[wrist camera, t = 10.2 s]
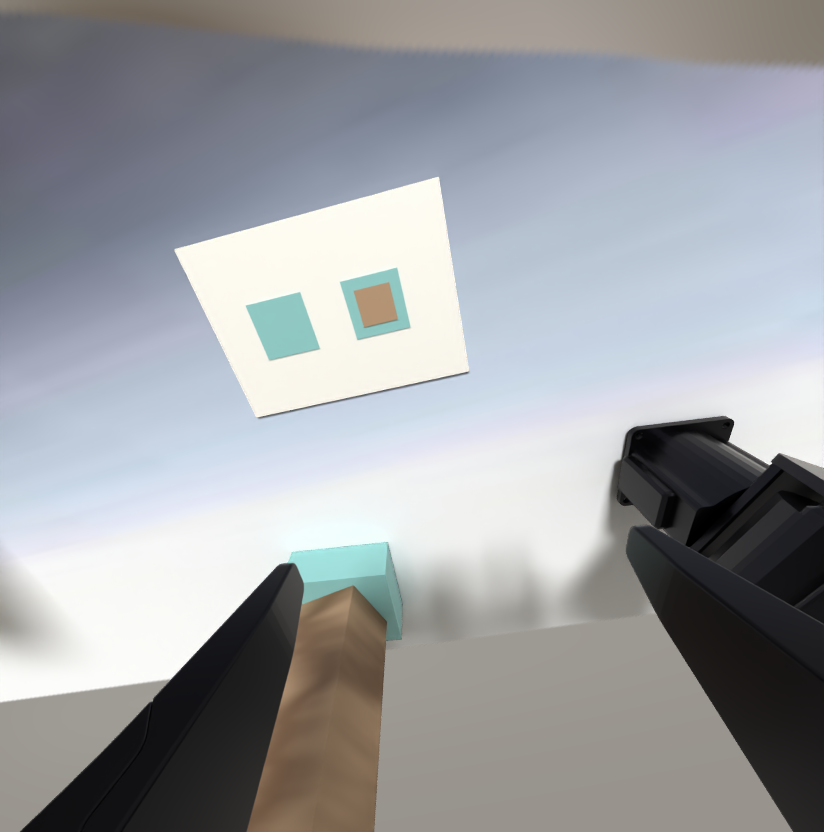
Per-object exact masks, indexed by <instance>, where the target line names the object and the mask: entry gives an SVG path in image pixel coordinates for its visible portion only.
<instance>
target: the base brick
mask: <svg viewBox="0 0 824 832" xmlns="http://www.w3.org/2000/svg"><path fill="white" fill-rule="evenodd" d="M288 563H295V564H296V565H297V568H298V570H299V572H300V575H301V577H302V579H303V582H304V594H303V600H302V604H305V603H307V602H310V601H312V600H315V599H318V598H320V597H323V596H326V595H328V594H331V593H334V592H336V591H339V590H342V589H344V588H347V587H350V586H352V585H354V586H355V587H356V588H357V589H358V590H359V592H360V593H361V594H362V595H363V596H364V597H365V598H366V599H367V600H368V601H369V602H370V604H371V605H372V606H373V607H374V608H375V609H376V610H377V611H378V612H379V613H380V614H381V616H382V617H383V618H384V619H385V620H386V621H387V631H386V641H388V640H399V639H402V601H401V597H400V593H399V588H398V584H397V580H396V576H395V571H394V567H393V563H392V559H391V554H390V550H389V546H388V542H384V543H375V544H365V545H356V546H347V547H337V548H328V549H318V550H309V551H300V552H292V554H291V556H290V559H289V561H288Z"/></svg>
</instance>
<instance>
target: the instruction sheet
mask: <svg viewBox="0 0 824 832" xmlns="http://www.w3.org/2000/svg"><path fill="white" fill-rule="evenodd" d="M174 250H175V252H176V254H177V256H178V258H179V260H180V263H181V265H182V267H183V269H184V271H185V273H186V275H187V277H188V279H189V281H190V283H191V285H192V287H193V289H194V291H195V293H196V295H197V297H198V299H199V301H200V303H201V305H202V307H203V309H204V311H205V314H206V316H207V318H208V320H209V322H210V324H211V326H212V328H213V330H214V332H215V334H216V336H217V338H218V340H219V342H220V344H221V346H222V348H223V350H224V352H225V354H226V356H227V358H228V360H229V363H230V365H231V367H232V369H233V371H234V373H235V375H236V377H237V379H238V381H239V383H240V385H241V387H242V389H243V391H244V393H245V395H246V397H247V399H248V401H249V403H250V405H251V407H252V409H253V411H254V414H255V416H256V418H257V417H261V416H266V415H270V414H275V413H280V412H284V411H289V410H293V409H298V408H303V407H307V406H312V405H316V404H321V403H326V402H330V401H335V400H339V399H344V398H349V397H353V396H358V395H362V394H367V393H372V392H376V391H381V390H385V389H390V388H395V387H399V386H404V385H408V384H413V383H418V382H422V381H427V380H431V379H436V378H441V377H445V376H450V375H454V374H459V373H464V372H468V371H469V367H468V361H467V354H466V348H465V342H464V335H463V329H462V322H461V316H460V310H459V303H458V297H457V291H456V284H455V278H454V271H453V265H452V259H451V252H450V246H449V240H448V233H447V227H446V220H445V214H444V208H443V201H442V195H441V189H440V182H439V177H436V178H433V179H429V180H425V181H422V182H418V183H414V184H411V185H407V186H404V187H400V188H396V189H393V190H389V191H385V192H382V193H378V194H374V195H371V196H367V197H363V198H360V199H356V200H353V201H349V202H345V203H342V204H338V205H334V206H331V207H327V208H323V209H320V210H316V211H313V212H309V213H305V214H302V215H298V216H294V217H291V218H287V219H283V220H280V221H276V222H272V223H269V224H265V225H262V226H258V227H254V228H251V229H247V230H243V231H240V232H236V233H232V234H229V235H225V236H222V237H218V238H214V239H211V240H207V241H203V242H200V243H196V244H192V245H189V246H185V247H182V248H178V249H174Z"/></svg>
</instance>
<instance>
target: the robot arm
mask: <svg viewBox="0 0 824 832" xmlns="http://www.w3.org/2000/svg"><path fill="white" fill-rule="evenodd" d="M733 426H734V421H733V420H732V419H730V418H728V417H726V416H720V417H712V418H704V419H695V420H687V421H679V422H670V423H662V424H654V425H646V426H637V427H634V428H632V429H631V430H630V431H629V433H628V436H627V442H626V448H625V453H624V458H623V460H622V465H621V471H620V477H619V482H618V493H617V500H618V502H619V503H620V504H621V505H623V506H628V505H635V507H636V508H637V509H638V510H639V511H640V512H641V513H642V514H643V515H644V516H645V518H646V519H647V520H648V521H649V522H650V523H651V524H652V525H653V526H654V527H655V528H657V529H663V530H664V531H665V532H666V533H667V534H668V535H669V536H668V535H666V534H664V533H663V532H661V531H659V530H657V529H655V528H654V527H652V526H649V525H639V526H633V527H631V528H630V530H629V535H628V540H627V545H626V554H627V557H628V559H629V561H630V563H631V565H632V567H633V569H634V571H635V573H636V575H637V577H638V579H639V581H640V583H641V585H642V587H643V589H644V591H645V593H646V595H647V597H648V599H649V601H650V603H651V604H652V606H653V608H654V610H655V612H656V614H657V616H658V618H659V619H660V621H661V622H662V624H663V626H664V628H665V629H666V631H667V632H668V634H669V636H670V637H671V638H672V640H673V642H674V644H675V645H676V647H677V648H678V650H679V651H680V653H681V655H682V656H683V658H684V659H685V661H686V662H687V664H688V666H689V667H690V669H691V671H692V672H693V674H694V675H695V677H696V678H697V680H698V682H699V683H700V685H701V686H702V688H703V690H704V691H705V693H706V694H707V696H708V697H709V699H710V701H711V702H712V704H713V705H714V707H715V709H716V710H717V712H718V713H719V715H720V717H721V718H722V720H723V721H724V723H725V724H726V726H727V728H728V729H729V731H730V732H731V734H732V735H733V737H734V739H735V740H736V742H737V743H738V745H739V746H740V748H741V750H742V751H743V753H744V755H745V756H746V758H747V759H748V761H749V763H750V764H751V766H752V767H753V769H754V770H755V772H756V774H757V775H758V777H759V778H760V780H761V781H762V783H763V785H764V786H765V788H766V790H767V791H768V793H769V794H770V796H771V797H772V799H773V801H774V802H775V804H776V805H777V807H778V808H779V810H780V812H781V813H782V815H783V817H784V818H785V819H786V821H787V823H788V824H789V826H790V828H791V829H792V831H793V832H824V468H822V467H819V466H816V465H813V464H810V463H807V462H804V461H801V460H798V459H795V458H793V457H790V456H787V455H784V454H781V453H779V454H778V455H777V456H776V457H775V458H774V459H773V460H772V461H771V462H772V464H771V465H768V464H766V463H764V462H763V461H761V460H759V459H758V458H756V457H754V456H752V455H751V454H749V453H747V452H745V451H744V450H742V449H740V448H738V447H737V446H735V445H733V444H732V443H730V442H728V441H729V438H730V435H731V432H732V429H733ZM638 433H639V434H638ZM636 434H638V435H637V436H636ZM625 498H626V499H625ZM303 594H304V582H303V579H302V577H301V575H300V572H299V570H298V568H297V565H296V564H295V563H283V564H280V565H278V566H277V567H276V568H275V569H274V570H273V571H272V572H271V573H270V574H269V575H268V577H267V578H266V579H265V580H264V581H263V582H262V583H261V584H260V585H259V586H258V587H257V588H256V589H255V590H254V591H253V592H252V594H251V595H250V596H249V597H248V598H247V599H246V600H245V601H244V602H243V603H242V604H241V605H240V606H239V607H238V608H237V610H236V611H235V612H234V613H233V614H232V615H231V616H230V617H229V618H228V619H227V620H226V621H225V622H224V623H223V624H222V626H221V627H220V628H219V629H218V630H217V631H216V632H215V633H214V634H213V635H212V636H211V637H210V638H209V639H208V640H207V642H206V643H205V644H204V645H203V646H202V647H201V648H200V649H199V650H198V651H197V652H196V653H195V654H194V655H193V656H192V657H191V659H190V660H189V661H188V662H187V663H186V664H185V665H184V666H183V667H182V668H181V669H180V670H179V671H178V672H177V673H176V675H175V676H174V677H173V678H172V679H171V680H170V681H169V682H168V683H167V684H166V685H165V686H164V687H163V688H162V689H161V691H160V692H159V693H158V694H157V695H156V696H155V697H154V698H153V701H151V702H149V703H148V704H147V705H146V706H145V707H144V708H143V710H142V711H141V712H140V713H139V714H138V715H137V716H136V717H135V718H134V719H133V720H132V721H131V722H130V723H129V724H128V726H126V727H125V729H124V730H123V731H122V732H121V733H120V734H119V735H118V736H117V737H116V738H115V739H114V740H113V741H112V742H111V743H110V744H109V745H108V746H107V747H106V748H105V749H104V750H103V751H102V752H101V753H100V754H99V755H98V756H97V757H96V758H95V759H94V760H93V761H92V762H91V763H90V764H89V765H88V766H87V767H86V768H85V769H84V770H83V771H82V772H81V773H80V774H79V775H78V776H77V777H76V778H75V779H74V780H73V781H72V782H71V783H70V784H69V785H68V786H67V787H66V788H65V789H64V790H63V791H62V792H60V793H59V795H57V796H56V797H55V798H54V799H53V800H52V801H51V802H50V803H49V804H48V805H47V806H46V807H45V808H44V809H43V810H42V811H41V812H40V813H39V814H38V815H37V816H36V817H35V818H34V819H32V820H31V821H30V822H29V823H28V824H27V825H26V826H25V827H24V828H23V829H22V830H21V831H20V832H247V829H248V825H249V822H250V818H251V814H252V810H253V806H254V803H255V799H256V795H257V791H258V787H259V783H260V780H261V776H262V772H263V768H264V764H265V761H266V757H267V753H268V749H269V745H270V742H271V738H272V734H273V730H274V726H275V722H276V719H277V715H278V711H279V707H280V703H281V700H282V696H283V692H284V688H285V684H286V681H287V677H288V673H289V669H290V665H291V661H292V657H293V653H294V648H295V643H296V637H297V631H298V624H299V618H300V612H301V606H302V600H303Z"/></svg>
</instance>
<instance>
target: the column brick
mask: <svg viewBox="0 0 824 832" xmlns="http://www.w3.org/2000/svg"><path fill="white" fill-rule="evenodd" d="M386 631H387V621H386V620H385V619H384V618H383V617H382V616H381V614H380V613H379V612H378V611H377V610H376V609H375V608H374V607H373V606H372V605H371V604H370V602H369V601H368V600H367V599H366V598H365V597H364V596H363V595H362V594H361V593H360V592H359V590H358V589H357V588H356V587H355V586H354V585H352V586H350V587H347V588H344V589H342V590H339V591H336V592H334V593H331V594H328V595H326V596H323V597H320V598H318V599H315V600H312V601H310V602H307V603H305V604H302V606H301V612H300V618H299V624H298V631H297V637H296V643H295V648H294V653H293V657H292V661H291V665H290V669H289V673H288V677H287V681H286V684H285V688H284V692H283V696H282V700H281V703H280V707H279V711H278V715H277V719H276V722H275V726H274V730H273V734H272V738H271V742H270V745H269V749H268V753H267V757H266V761H265V764H264V768H263V772H262V776H261V780H260V783H259V787H258V791H257V795H256V799H255V803H254V806H253V810H252V814H251V818H250V822H249V825H248V829H247V832H374V825H375V810H376V809H375V808H376V793H377V777H378V776H377V775H378V760H379V744H380V727H381V712H382V695H383V678H384V662H385V647H386Z"/></svg>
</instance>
